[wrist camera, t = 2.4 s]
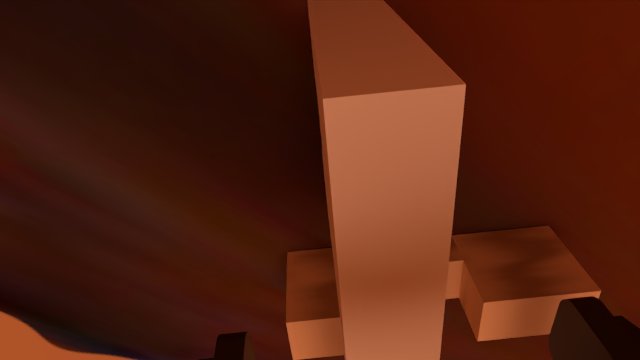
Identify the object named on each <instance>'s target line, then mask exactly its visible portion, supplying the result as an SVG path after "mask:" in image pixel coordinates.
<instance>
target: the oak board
mask: <svg viewBox="0 0 640 360" xmlns="http://www.w3.org/2000/svg"><path fill="white" fill-rule="evenodd" d="M600 293H601V290H600V289H599V287H598V286H597V285H596V284H595V283H594V281H593V280H592V279H591V278H590V276H589V275H588V274H587V273H586V271H585V270H584V269H583V268H582V266H581V265H580V264H579V263H578V261H577V260H576V259H575V258H574V256H573V255H572V254H571V253H570V251H569V250H568V249H567V248H566V247H565V245H564V244H563V243H562V242H561V240H560V239H559V238H558V237H557V235H556V234H555V233H554V232H553V230H552V229H551V228H550V227H549V225H548V226H538V227H529V228H519V229H509V230H499V231H489V232H480V233H470V234H460V235H451V246H450V256H449V266H448V277H447V287H446V297H445V299H451V298H459V299H460V302H461V304H462V306H463V309H464V311H465V313H466V316H467V318H468V320H469V323H470V325H471V327H472V330H473V332H474V334H475V337H476V339H477V341H485V340H495V339H505V338H515V337H525V336H534V335H544V334H550V332H551V328H552V325H553V322H554V319H555V316H556V312H557V309H558V306H559V303H560V301H561V300H563V299H571V298H580V297H589V296H594V297H596V298H599V295H600ZM286 325H287V331H288V336H289V341H290V346H291V351H292V356H293V360H298V359H308V358H318V357H327V356H337V355H344V347H343V338H342V329H341V321H340V312H339V303H338V295H337V286H336V277H335V269H334V260H333V251H332V248H323V249H313V250H303V251H293V252H287V294H286Z"/></svg>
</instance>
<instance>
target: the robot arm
mask: <svg viewBox="0 0 640 360" xmlns="http://www.w3.org/2000/svg"><path fill="white" fill-rule="evenodd" d="M549 349H550V352H551V356H552V358H553V360H640V329H639V328H638V327H637V326H635V325H634V324H632V323H631V322H630V321H628V320H627V319H625V318H624V317H623V316H613V315H612V314H611V313H610V311H609V310H608V309H607V308H606V306H605V305H604V304H603V303H602V302H601V301H600V300H599V299H598V298H596V297H594V296H589V297H580V298H571V299H563V300H561V301H560V303H559V306H558V309H557V312H556V316H555V319H554V322H553V325H552V328H551V332H550V335H549ZM199 360H256V357H255V354H254V350H253V346H252V342H251V338H250V334H249V332H239V333H229V334H220V335H219V336H218V338H217V342H216V348H215V354H214V358H209V359H199Z"/></svg>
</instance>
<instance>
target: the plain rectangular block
mask: <svg viewBox="0 0 640 360" xmlns="http://www.w3.org/2000/svg"><path fill="white" fill-rule="evenodd" d="M307 2H308V12H309V23H310V33H311V43H312V54H313V64H314V74H315V82H316V90H317V99H318V109H319V120H320V130H321V140H322V158H323V168H324V178H325V189H326V199H327V208H328V217H329V225H330V234H331V243H332V251H333V260H334V269H335V277H336V286H337V295H338V303H339V312H340V321H341V329H342V338H343V347H344V355H345V360H440V349H441V339H442V329H443V318H444V308H445V297H446V287H447V277H448V266H449V256H450V246H451V235H452V225H453V214H454V204H455V194H456V183H457V173H458V163H459V152H460V142H461V131H462V121H463V111H464V100H465V90H466V84H465V83H464V82H463V81H462V80H461V79H460V78H459V77H458V76H457V75H456V73H455V72H454V71H453V70H452V69H451V68H450V67H449V66H448V65H447V64H446V63H445V62H444V61H443V60H442V59H441V58H440V57H439V56H438V55H437V54H436V53H435V52H434V51H433V50H432V49H431V48H430V47H429V46H428V45H427V44H426V43H425V42H424V41H423V40H422V39H421V38H420V37H419V36H418V35H417V34H416V33H415V32H414V31H413V30H412V29H411V28H410V27H409V26H408V25H407V24H406V23H405V22H404V21H403V20H402V19H401V18H400V17H399V16H398V15H397V14H396V13H395V11H394V10H393V9H392V8H391V7H390V6H389V5H388V4H387V3H386V2H385V1H384V0H307Z"/></svg>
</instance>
